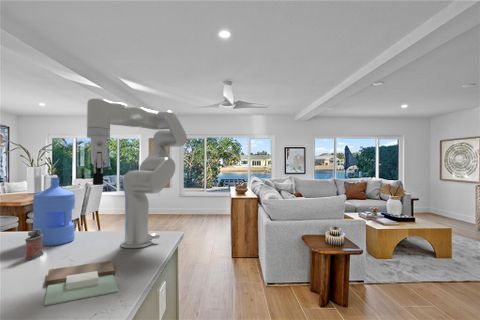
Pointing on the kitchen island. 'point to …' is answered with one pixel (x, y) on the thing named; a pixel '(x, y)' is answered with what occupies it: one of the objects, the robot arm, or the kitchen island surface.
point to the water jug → (54, 214)
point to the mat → (79, 291)
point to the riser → (79, 271)
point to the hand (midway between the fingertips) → (97, 184)
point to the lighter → (34, 245)
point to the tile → (82, 280)
